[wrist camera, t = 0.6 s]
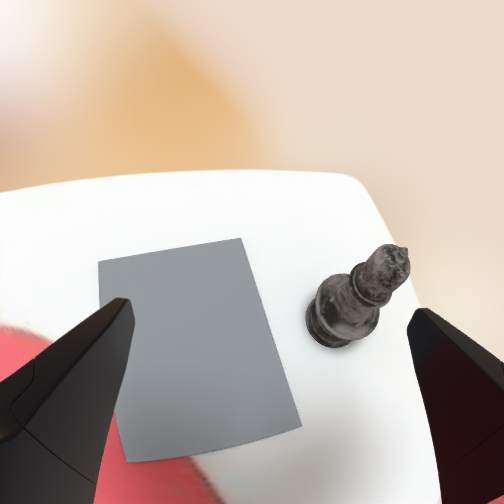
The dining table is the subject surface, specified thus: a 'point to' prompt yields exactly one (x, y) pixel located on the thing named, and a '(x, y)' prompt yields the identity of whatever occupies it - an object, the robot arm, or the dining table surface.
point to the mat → (196, 353)
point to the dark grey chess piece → (356, 297)
